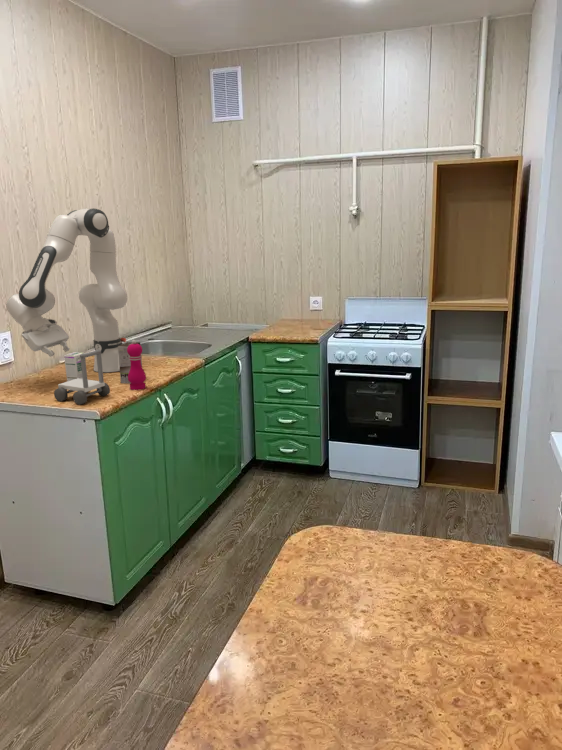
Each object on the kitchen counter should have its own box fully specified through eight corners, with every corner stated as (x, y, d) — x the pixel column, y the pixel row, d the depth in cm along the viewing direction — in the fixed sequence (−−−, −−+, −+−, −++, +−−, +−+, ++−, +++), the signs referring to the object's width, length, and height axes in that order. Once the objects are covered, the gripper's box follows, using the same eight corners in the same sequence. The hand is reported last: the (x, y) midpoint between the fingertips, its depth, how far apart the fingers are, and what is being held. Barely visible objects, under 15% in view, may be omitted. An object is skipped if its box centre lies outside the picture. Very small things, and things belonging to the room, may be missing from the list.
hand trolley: (82, 391, 234) (77, 345, 230) (110, 395, 228) (106, 348, 223) (54, 400, 222) (49, 352, 218) (83, 405, 216) (78, 356, 211)
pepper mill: (131, 385, 241) (127, 338, 236) (148, 385, 241) (145, 338, 236) (126, 390, 234) (122, 341, 229) (144, 390, 234) (140, 341, 229)
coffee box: (134, 383, 244) (131, 346, 240) (120, 383, 245) (116, 345, 241) (143, 378, 253) (140, 341, 249) (130, 377, 254) (126, 341, 250)
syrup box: (79, 390, 236) (75, 355, 232) (67, 389, 238) (63, 354, 234) (88, 386, 241) (84, 352, 237) (76, 385, 243) (73, 351, 239)
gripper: (23, 327, 227) (47, 353, 227) (57, 319, 246) (79, 343, 246) (15, 338, 230) (38, 363, 229) (50, 329, 249) (71, 352, 248)
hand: (60, 352), depth 238 cm, fingers open, 8 cm apart
